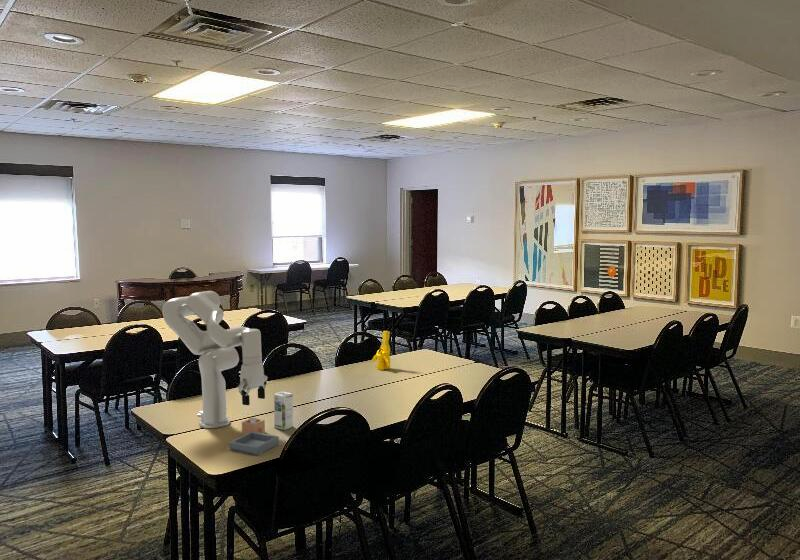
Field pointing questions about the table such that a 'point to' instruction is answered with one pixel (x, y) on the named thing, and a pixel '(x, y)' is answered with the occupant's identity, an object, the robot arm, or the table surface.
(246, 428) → the salmon pink block
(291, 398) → the syrup box
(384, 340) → the figure statuette
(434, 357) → the table surface
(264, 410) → the table surface
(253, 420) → the stake
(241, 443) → the tray
